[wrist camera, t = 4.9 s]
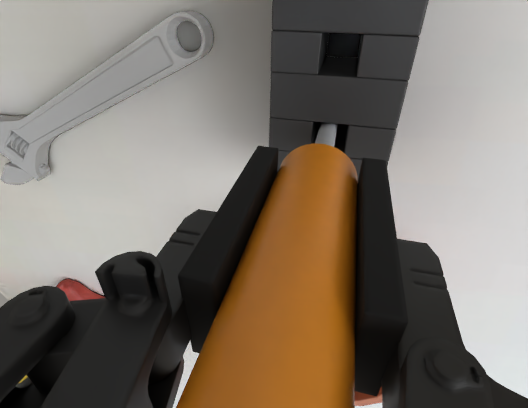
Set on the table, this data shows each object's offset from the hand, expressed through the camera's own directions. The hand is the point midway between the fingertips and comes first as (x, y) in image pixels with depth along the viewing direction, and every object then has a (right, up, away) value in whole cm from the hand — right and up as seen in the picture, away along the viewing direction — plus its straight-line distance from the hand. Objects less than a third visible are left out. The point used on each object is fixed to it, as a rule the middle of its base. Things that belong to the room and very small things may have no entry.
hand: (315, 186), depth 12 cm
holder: (+3, +9, +6) cm, 11 cm away
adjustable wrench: (-16, +6, +13) cm, 22 cm away
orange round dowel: (+2, +4, +6) cm, 7 cm away
